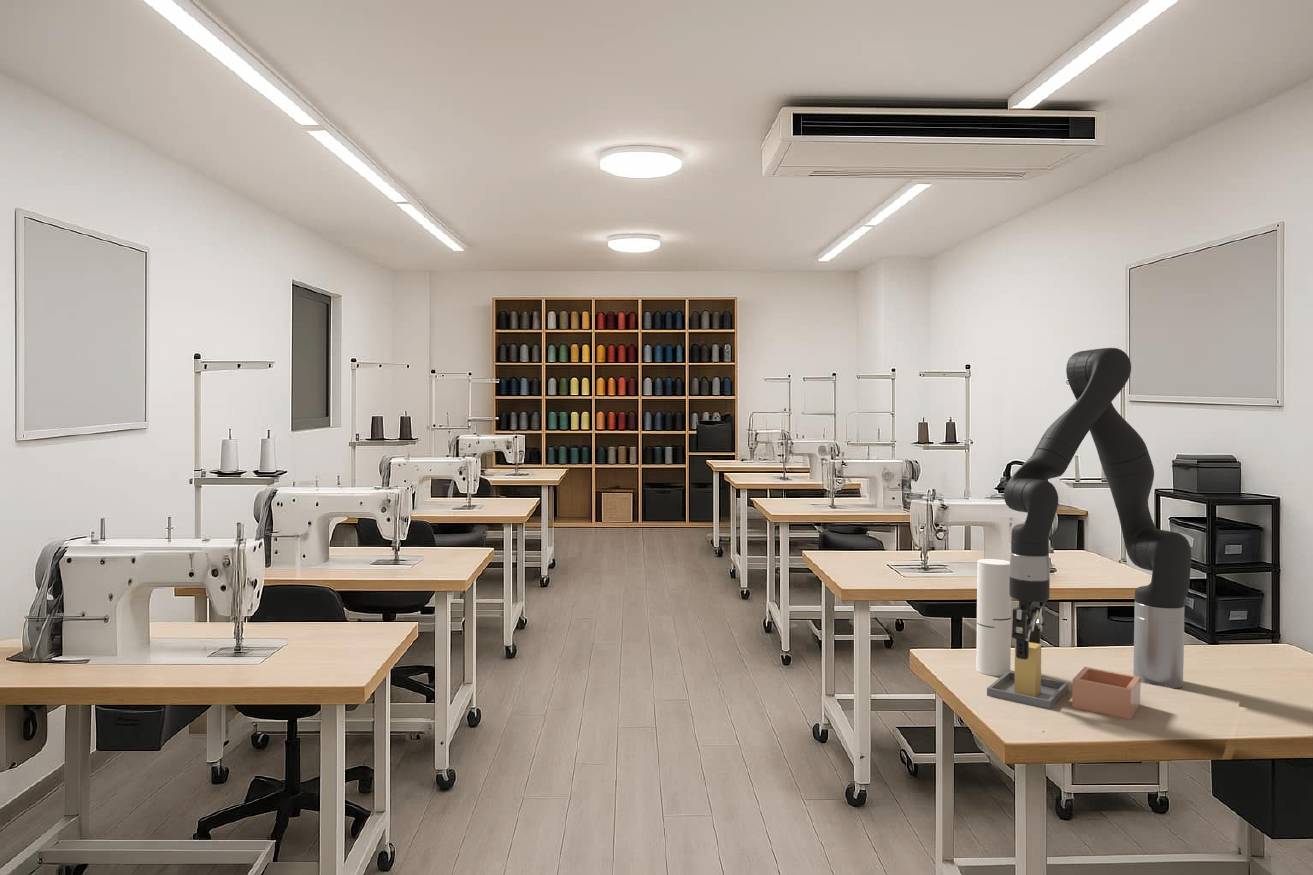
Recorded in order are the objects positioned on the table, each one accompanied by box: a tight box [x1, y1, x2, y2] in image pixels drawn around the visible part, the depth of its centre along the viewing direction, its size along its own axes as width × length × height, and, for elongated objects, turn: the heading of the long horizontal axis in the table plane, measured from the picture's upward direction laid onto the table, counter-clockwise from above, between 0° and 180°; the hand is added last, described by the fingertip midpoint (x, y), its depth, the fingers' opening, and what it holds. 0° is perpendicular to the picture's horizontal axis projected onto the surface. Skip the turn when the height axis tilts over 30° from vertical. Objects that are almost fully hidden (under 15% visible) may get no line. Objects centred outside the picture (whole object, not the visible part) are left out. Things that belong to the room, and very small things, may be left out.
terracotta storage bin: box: [1071, 666, 1142, 720], centre depth 159 cm, size 10×10×6 cm
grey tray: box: [986, 670, 1069, 710], centre depth 166 cm, size 14×12×2 cm
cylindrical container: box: [975, 558, 1012, 677], centre depth 183 cm, size 7×7×25 cm
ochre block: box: [1014, 642, 1042, 697], centre depth 166 cm, size 4×4×10 cm
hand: (1028, 653), depth 166 cm, fingers open, 8 cm apart
